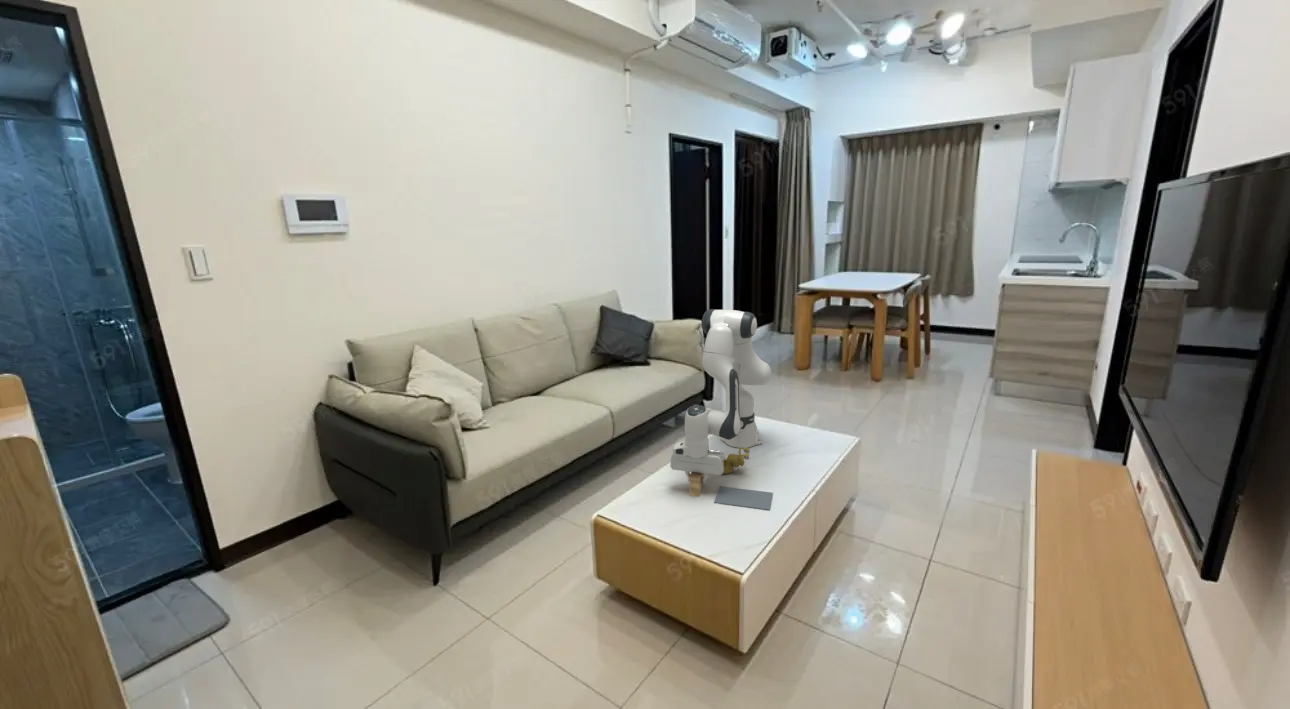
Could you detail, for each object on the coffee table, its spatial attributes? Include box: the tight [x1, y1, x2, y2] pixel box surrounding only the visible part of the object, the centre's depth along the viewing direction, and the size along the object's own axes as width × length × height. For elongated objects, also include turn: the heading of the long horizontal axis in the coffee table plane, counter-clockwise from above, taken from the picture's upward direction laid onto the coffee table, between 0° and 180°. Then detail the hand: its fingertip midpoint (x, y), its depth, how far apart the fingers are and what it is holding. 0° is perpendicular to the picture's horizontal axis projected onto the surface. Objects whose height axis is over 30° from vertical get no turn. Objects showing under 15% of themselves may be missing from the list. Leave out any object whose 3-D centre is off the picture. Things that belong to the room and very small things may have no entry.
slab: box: [689, 472, 705, 497], centre depth 202 cm, size 10×4×8 cm, turn 162°
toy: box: [721, 447, 750, 475], centre depth 215 cm, size 8×21×10 cm, turn 78°
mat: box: [713, 485, 774, 511], centre depth 195 cm, size 12×20×1 cm, turn 72°
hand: (697, 481), depth 202 cm, fingers closed on slab, 3 cm apart
